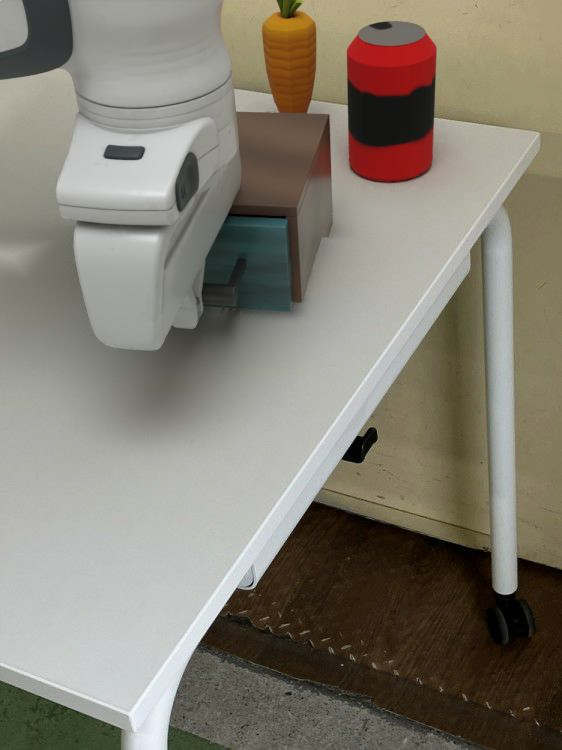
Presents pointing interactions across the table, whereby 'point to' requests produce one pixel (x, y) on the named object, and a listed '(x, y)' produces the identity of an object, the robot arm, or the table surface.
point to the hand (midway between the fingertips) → (187, 320)
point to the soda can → (391, 101)
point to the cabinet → (288, 180)
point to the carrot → (290, 56)
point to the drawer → (250, 264)
